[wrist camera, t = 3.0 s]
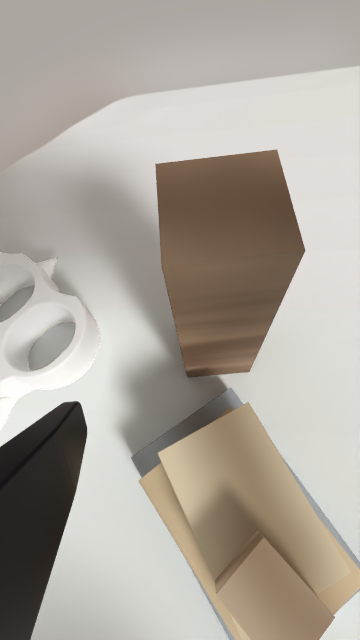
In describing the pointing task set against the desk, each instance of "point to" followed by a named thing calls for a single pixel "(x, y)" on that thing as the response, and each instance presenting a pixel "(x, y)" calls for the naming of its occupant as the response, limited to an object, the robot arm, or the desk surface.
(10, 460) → the robot arm
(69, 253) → the desk surface
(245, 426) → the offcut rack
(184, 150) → the desk surface
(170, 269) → the walnut block
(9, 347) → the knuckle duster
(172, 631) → the desk surface
